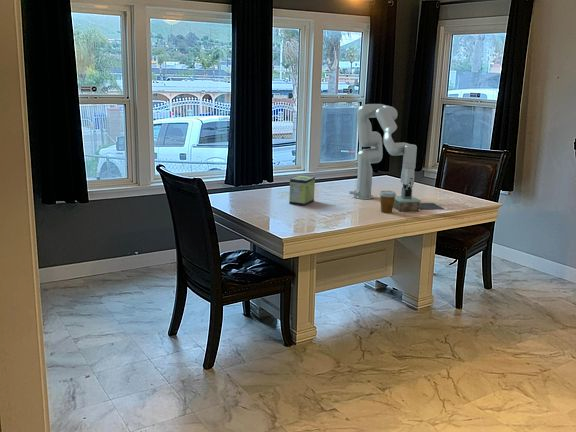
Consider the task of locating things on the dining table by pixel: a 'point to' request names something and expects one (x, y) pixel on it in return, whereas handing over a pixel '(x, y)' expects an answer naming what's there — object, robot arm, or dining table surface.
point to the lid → (406, 199)
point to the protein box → (302, 190)
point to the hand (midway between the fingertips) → (406, 195)
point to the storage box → (406, 206)
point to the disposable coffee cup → (387, 201)
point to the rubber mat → (429, 206)
